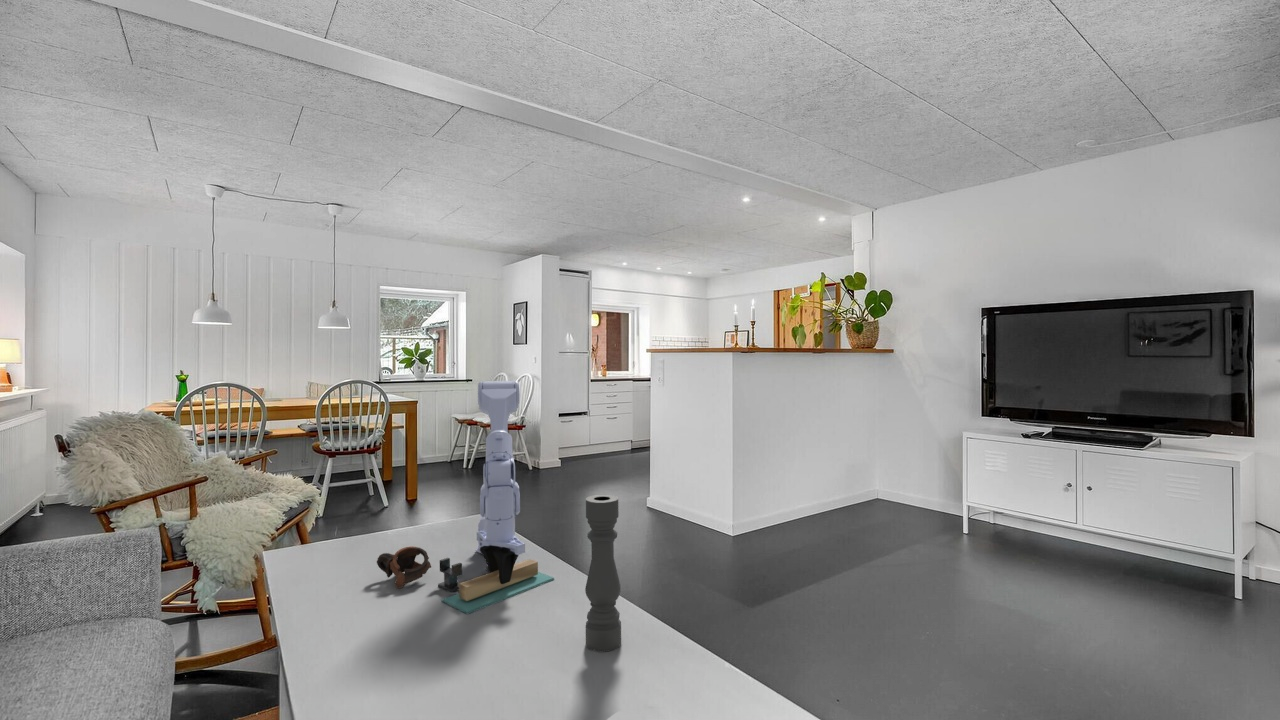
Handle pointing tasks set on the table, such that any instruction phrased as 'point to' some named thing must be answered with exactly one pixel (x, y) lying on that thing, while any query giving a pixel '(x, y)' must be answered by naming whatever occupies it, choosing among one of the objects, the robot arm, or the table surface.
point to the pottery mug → (404, 565)
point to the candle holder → (602, 575)
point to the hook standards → (450, 575)
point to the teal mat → (496, 594)
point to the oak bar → (496, 580)
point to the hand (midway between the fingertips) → (500, 580)
